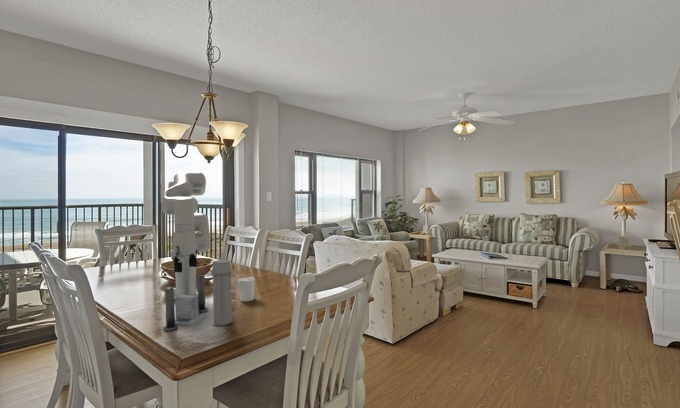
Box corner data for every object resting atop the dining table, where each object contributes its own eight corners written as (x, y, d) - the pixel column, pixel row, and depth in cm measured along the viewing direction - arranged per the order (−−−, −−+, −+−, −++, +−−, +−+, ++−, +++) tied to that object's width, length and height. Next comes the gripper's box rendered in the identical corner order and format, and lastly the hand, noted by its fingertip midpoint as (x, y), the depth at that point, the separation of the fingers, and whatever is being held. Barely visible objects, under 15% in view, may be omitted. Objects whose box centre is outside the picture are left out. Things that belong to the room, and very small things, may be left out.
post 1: (160, 331, 136) (159, 289, 136) (169, 326, 141) (167, 286, 140) (172, 332, 135) (170, 290, 135) (180, 327, 140) (179, 286, 140)
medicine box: (198, 316, 149) (198, 295, 149) (191, 319, 145) (191, 298, 145) (182, 314, 152) (182, 294, 151) (175, 318, 147) (174, 297, 147)
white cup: (250, 302, 171) (250, 281, 170) (235, 301, 172) (235, 280, 172) (257, 297, 178) (257, 277, 178) (243, 296, 180) (242, 277, 180)
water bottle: (215, 320, 147) (213, 259, 146) (234, 319, 147) (233, 259, 147) (209, 329, 138) (207, 264, 137) (230, 328, 138) (228, 263, 138)
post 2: (193, 312, 157) (192, 276, 156) (200, 309, 162) (199, 274, 161) (203, 313, 156) (202, 276, 155) (210, 309, 161) (209, 274, 160)
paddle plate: (166, 323, 144) (166, 320, 144) (183, 314, 155) (183, 311, 155) (191, 325, 142) (191, 321, 142) (206, 315, 153) (206, 312, 153)
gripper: (189, 225, 156) (190, 264, 157) (162, 230, 139) (163, 274, 140) (204, 225, 155) (205, 265, 156) (179, 230, 138) (180, 274, 139)
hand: (185, 269), depth 148 cm, fingers open, 9 cm apart
